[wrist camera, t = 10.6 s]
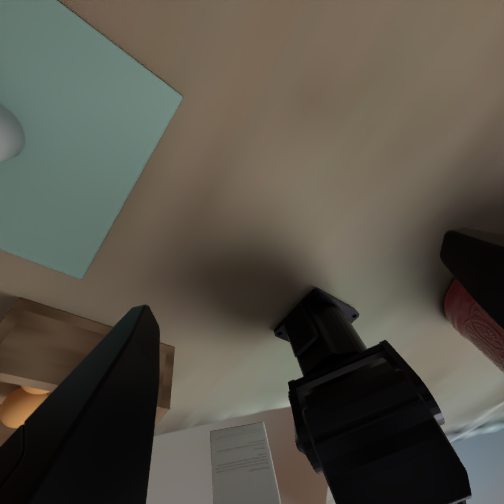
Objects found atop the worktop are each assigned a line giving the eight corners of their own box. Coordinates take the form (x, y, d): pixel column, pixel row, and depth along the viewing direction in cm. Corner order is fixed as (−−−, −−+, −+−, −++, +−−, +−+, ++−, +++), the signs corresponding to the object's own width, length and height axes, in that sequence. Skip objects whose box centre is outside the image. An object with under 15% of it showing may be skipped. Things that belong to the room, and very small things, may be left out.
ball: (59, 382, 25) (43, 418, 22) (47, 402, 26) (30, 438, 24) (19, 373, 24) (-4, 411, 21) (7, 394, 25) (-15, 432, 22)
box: (174, 347, 27) (169, 409, 22) (116, 419, 31) (101, 484, 26) (20, 297, 21) (-35, 365, 16) (-25, 393, 25) (-79, 470, 20)
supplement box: (211, 456, 39) (217, 594, 29) (209, 429, 35) (215, 577, 25) (262, 447, 40) (286, 576, 30) (265, 420, 37) (293, 557, 26)
